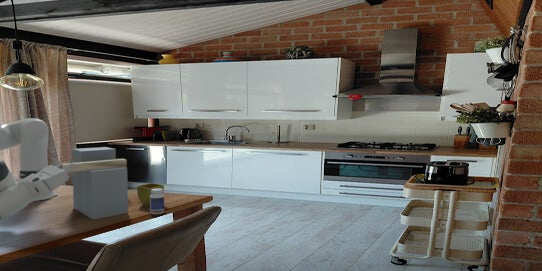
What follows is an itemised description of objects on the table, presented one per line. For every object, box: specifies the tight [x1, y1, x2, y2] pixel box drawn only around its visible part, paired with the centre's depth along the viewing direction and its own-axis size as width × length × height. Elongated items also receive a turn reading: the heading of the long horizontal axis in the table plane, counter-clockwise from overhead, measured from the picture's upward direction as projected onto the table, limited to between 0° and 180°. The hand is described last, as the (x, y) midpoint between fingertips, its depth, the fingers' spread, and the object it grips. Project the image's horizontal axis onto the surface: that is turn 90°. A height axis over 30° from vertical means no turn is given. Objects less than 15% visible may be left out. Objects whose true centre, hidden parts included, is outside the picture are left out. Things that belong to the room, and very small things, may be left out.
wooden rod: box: [60, 158, 128, 173], centre depth 148 cm, size 4×24×3 cm, turn 134°
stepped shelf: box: [71, 146, 129, 220], centre depth 155 cm, size 24×14×26 cm, turn 44°
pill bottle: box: [149, 188, 165, 215], centre depth 152 cm, size 6×6×10 cm
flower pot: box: [136, 182, 165, 207], centre depth 165 cm, size 9×9×9 cm
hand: (71, 163), depth 142 cm, fingers open, 5 cm apart
